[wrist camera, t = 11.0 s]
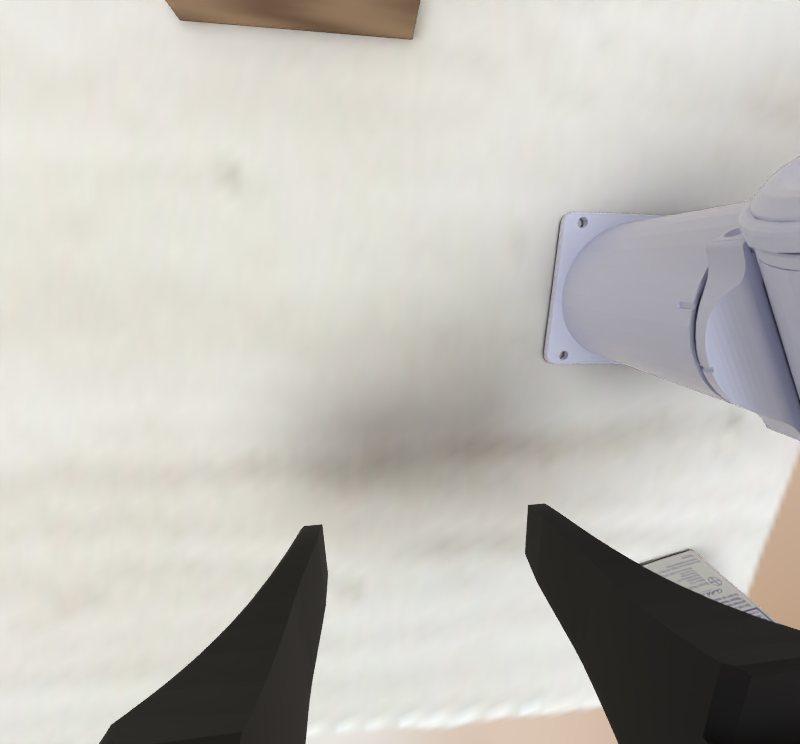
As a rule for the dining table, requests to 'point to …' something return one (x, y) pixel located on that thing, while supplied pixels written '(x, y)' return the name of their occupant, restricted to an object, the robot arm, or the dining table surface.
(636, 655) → the robot arm
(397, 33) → the walnut block
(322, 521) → the dining table surface
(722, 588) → the medicine box
